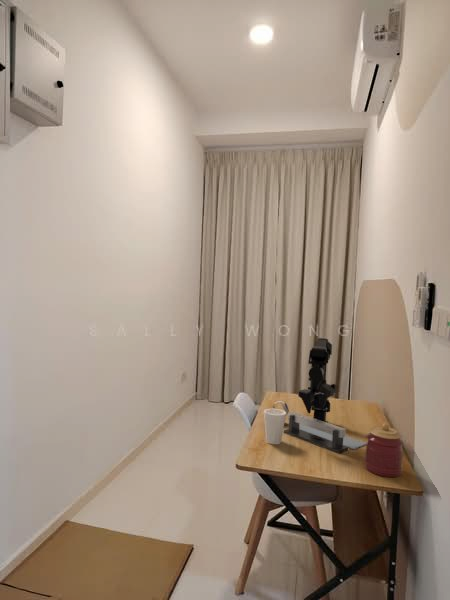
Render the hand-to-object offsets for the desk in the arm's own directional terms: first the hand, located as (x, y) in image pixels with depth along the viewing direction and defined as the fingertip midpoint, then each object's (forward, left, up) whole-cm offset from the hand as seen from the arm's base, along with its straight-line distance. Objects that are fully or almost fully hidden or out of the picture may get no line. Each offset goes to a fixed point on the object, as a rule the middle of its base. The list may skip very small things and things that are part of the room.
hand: (315, 411), depth 178 cm
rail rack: (0, 0, -13) cm, 13 cm away
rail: (0, 0, -7) cm, 7 cm away
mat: (-11, 0, -13) cm, 17 cm away
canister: (+3, +33, -13) cm, 36 cm away
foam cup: (+16, -10, -13) cm, 23 cm away
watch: (-5, -24, -13) cm, 28 cm away
